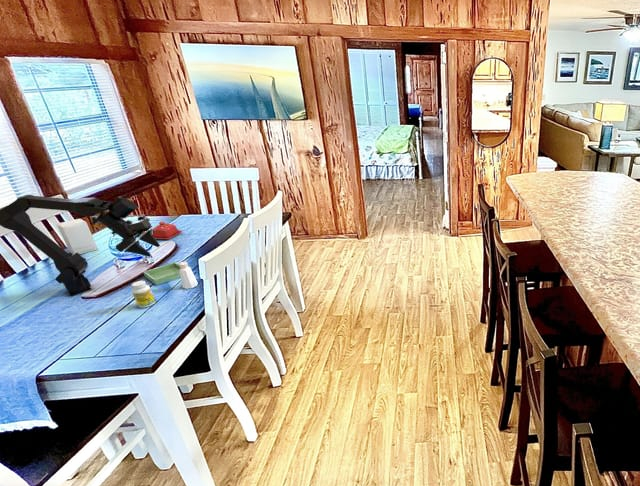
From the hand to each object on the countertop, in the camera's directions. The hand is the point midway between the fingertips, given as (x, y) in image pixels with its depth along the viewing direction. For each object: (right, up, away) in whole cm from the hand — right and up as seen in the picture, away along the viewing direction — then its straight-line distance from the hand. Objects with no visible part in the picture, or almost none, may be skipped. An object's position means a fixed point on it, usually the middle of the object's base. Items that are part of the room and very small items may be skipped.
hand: (154, 250), depth 162 cm
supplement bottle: (+6, -21, -10) cm, 24 cm away
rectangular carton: (-62, 0, +31) cm, 69 cm away
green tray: (-3, -11, +10) cm, 16 cm away
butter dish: (-35, +7, +49) cm, 60 cm away
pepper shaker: (+13, -15, +3) cm, 20 cm away
